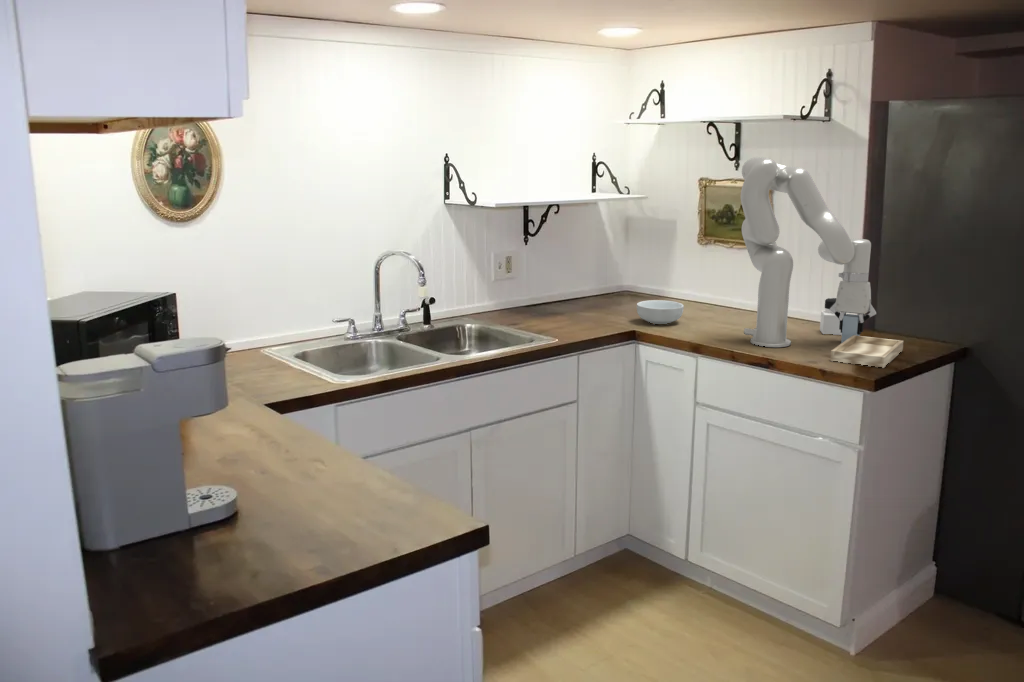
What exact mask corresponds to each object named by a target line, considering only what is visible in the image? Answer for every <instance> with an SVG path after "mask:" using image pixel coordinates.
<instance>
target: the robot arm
mask: <svg viewBox="0 0 1024 682" xmlns="http://www.w3.org/2000/svg"><path fill="white" fill-rule="evenodd" d="M741 176H742V178H743V179H744V181H743V183H742V186H741V190H740V203H741V207H742V210H743V214H744V218H745V219H744V220H743V221H742V225H741V235H742V238H743V241H744V244H745V247H746V249H747V253H748V257H749V259H750V260H751V263H752V265H753V266H754V268H755V269H756V270H757V271H758V272H760V273H761V275H760V278H759V282H758V291H757V309H756V310H757V311H756V327H755V328H753V329H752V328H748V327H747V328H746V327H745V328H744V329H743V334H744V335H745V336H751V338H750V343H751V344H752V345H754V344H755V345H754V346H758V345H759V347H763V346H765V347H764V348H785V347H789V346H791V344H792V341H791V340H790V339H788V338H787V333H788V332H787V330H788V316H789V315H788V314H789V303H790V302H789V300H790V299H789V298H790V286H791V279H792V274H793V269H794V260H793V256H792V255H791V253H790V251H788V250H787V249H786V248H784V247H782V246H778V245H777V242H776V241H778V238H779V237H780V226H779V224H778V221H777V219H776V214H775V213H774V209H773V206H772V204H771V199H770V190H772V191H775V192H778V193H779V192H780V193H784V194H787V195H788V197H789V199H790V201H791V203H792V205H793V206H794V208H795V210H796V212H797V213H798V216H799V218H800V220H802V221H803V223H804V224H805V225H806V226H808V227H809V228H810V229H812V231H814V232H815V233H816V234H817V235H818V237H820V240H822V241H821V242H820V244H818V247H817V252H818V255H819V256H820V258H822V260H824V261H827V262H829V263H833V264H835V265H841V266H842V265H843V271H842V272H839V273H838V278H841V279H842V280H840V281H839V284H838V288H837V292H836V297H835V298H836V302H835V303H834V305H833V306H832V307H831V308H830V311H832V312H833V313H834V314H835V315H836V316H837V317H838V318H839V320H840V325H839V330H841V333H842V327H843V316H844V315H846V314H854V315H859V323H858V329H857V334H858V335H860V336H861V334H862V333H863V332H864V326H865V322H866V321H867V320H868V319H870V318H871V317H874V316H875V315H877V311H876V309H875V307H873V305H872V289H871V282H870V281H869V275H870V260H871V253H872V251H871V249H872V242H871V241H870V240H869V239H866V238H865V239H864V238H850V236H849V234H848V233H847V231H846V229H845V227H844V226H843V224H842V223H841V222H840V221H839V219H838V218H837V217H836V215H835V213H833V211H832V210H831V209H830V208H829V207H828V205H827V204H826V202H825V200H824V198H823V196H822V194H821V192H820V191H819V188H818V187H817V185H816V183H815V180H814V179H813V178H812V175H811V174H810V172H809V171H808V170H807V169H806V168H803V167H800V166H790V165H789V166H788V165H784V164H780V163H777V162H776V161H775V160H773V159H771V158H769V157H763V156H762V157H758V156H756V157H752V158H749V159H747V160H746V161H745V162H744V164H743V165H742V168H741ZM840 312H841V313H840ZM868 312H869V313H868ZM867 313H868V314H867Z"/></svg>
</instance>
